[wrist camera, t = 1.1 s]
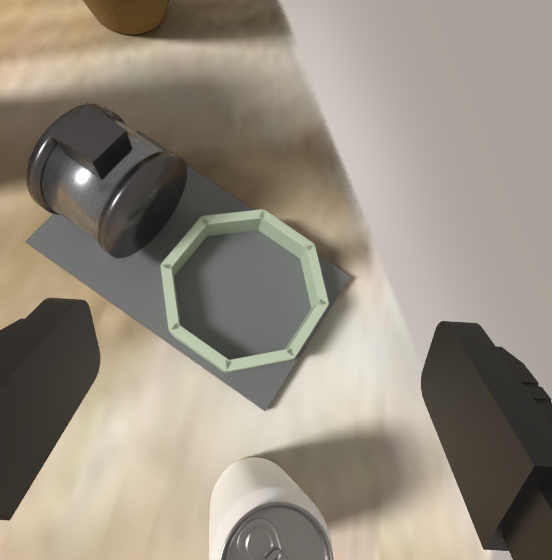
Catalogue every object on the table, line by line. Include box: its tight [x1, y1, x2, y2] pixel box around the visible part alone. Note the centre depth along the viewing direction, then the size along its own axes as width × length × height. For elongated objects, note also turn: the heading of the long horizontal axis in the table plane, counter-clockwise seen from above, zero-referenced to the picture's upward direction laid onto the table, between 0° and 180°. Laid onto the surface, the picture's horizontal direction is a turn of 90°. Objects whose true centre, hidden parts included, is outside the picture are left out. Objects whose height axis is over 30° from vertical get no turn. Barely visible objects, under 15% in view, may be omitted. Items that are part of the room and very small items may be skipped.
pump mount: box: [25, 131, 350, 411], centre depth 33 cm, size 24×14×4 cm, turn 56°
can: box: [209, 457, 333, 560], centre depth 24 cm, size 6×6×12 cm
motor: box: [27, 103, 187, 258], centre depth 29 cm, size 7×9×11 cm
